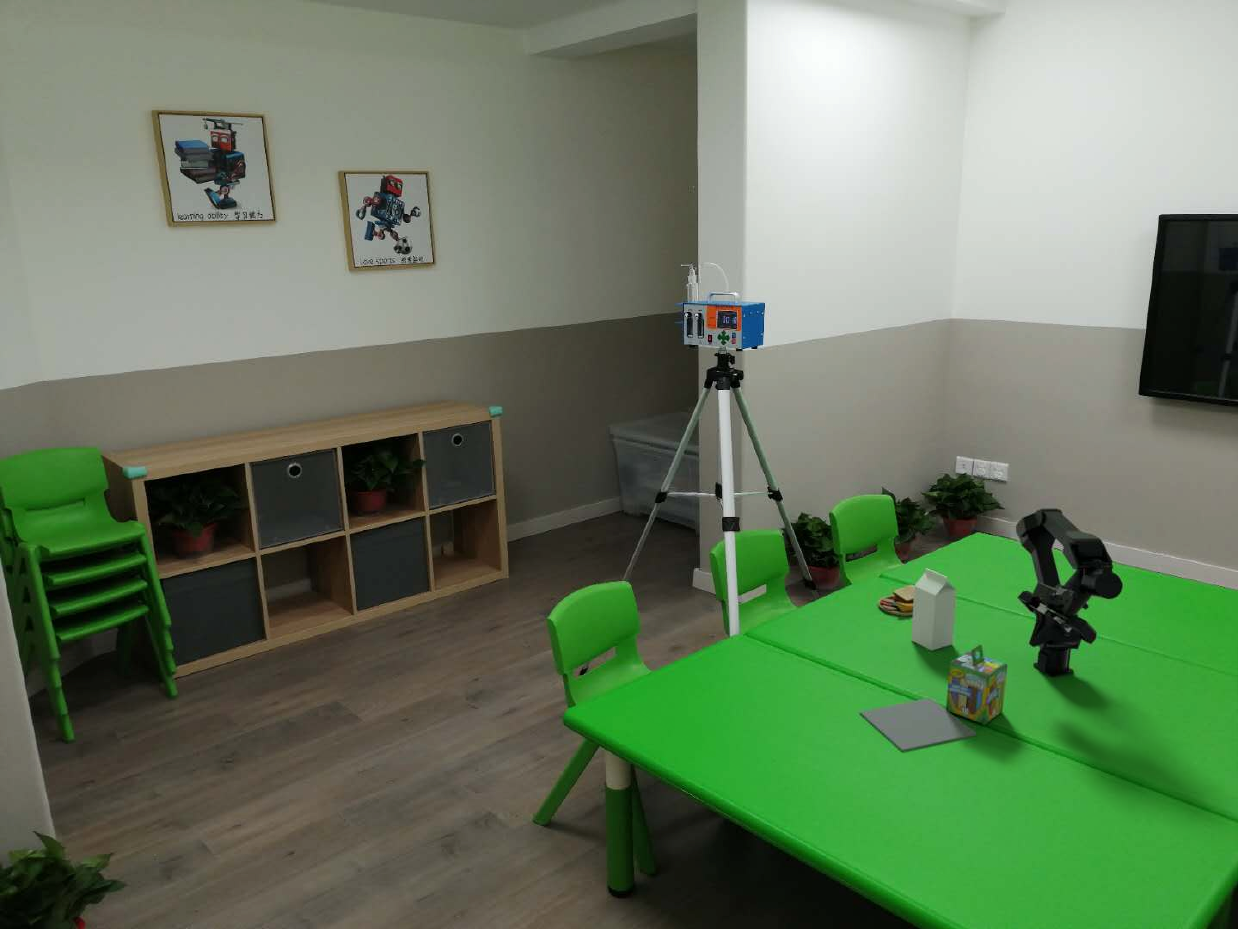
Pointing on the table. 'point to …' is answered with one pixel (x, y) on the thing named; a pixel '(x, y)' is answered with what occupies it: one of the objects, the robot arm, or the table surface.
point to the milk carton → (933, 611)
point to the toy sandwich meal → (899, 601)
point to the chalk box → (976, 686)
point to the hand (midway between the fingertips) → (1031, 645)
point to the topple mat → (917, 724)
